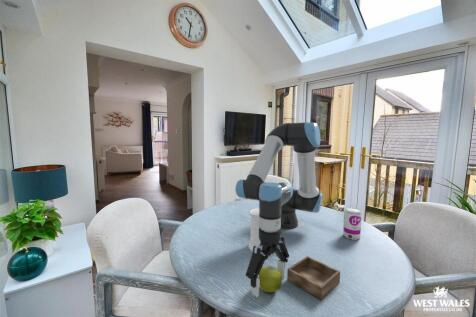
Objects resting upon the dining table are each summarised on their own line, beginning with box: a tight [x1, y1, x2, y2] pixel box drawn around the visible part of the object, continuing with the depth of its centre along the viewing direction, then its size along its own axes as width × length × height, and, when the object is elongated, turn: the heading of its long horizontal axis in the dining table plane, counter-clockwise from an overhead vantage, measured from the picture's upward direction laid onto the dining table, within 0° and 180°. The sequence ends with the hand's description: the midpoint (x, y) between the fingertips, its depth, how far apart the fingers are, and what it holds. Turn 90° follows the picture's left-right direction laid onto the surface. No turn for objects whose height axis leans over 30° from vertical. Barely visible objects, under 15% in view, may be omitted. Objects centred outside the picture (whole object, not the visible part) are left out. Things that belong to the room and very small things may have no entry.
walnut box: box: [286, 255, 341, 301], centre depth 81 cm, size 14×14×4 cm
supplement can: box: [342, 207, 363, 241], centre depth 117 cm, size 8×8×15 cm
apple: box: [258, 265, 283, 293], centre depth 77 cm, size 8×9×8 cm
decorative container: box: [248, 207, 264, 255], centre depth 105 cm, size 12×12×18 cm
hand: (268, 285), depth 77 cm, fingers open, 13 cm apart
